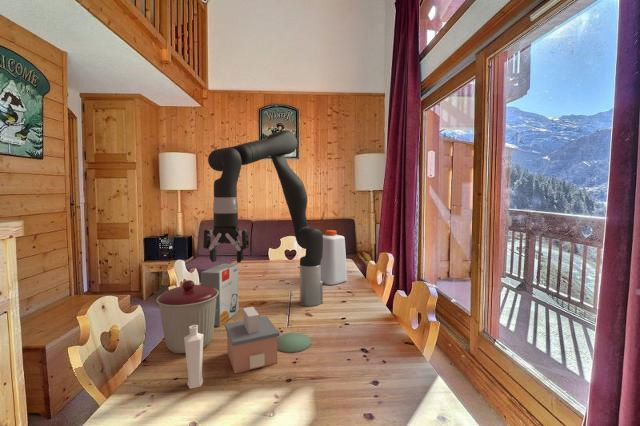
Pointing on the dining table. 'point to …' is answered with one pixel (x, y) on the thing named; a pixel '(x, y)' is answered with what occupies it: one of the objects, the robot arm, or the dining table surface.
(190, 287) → the canister
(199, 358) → the perfume bottle
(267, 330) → the lid
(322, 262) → the plastic bottle
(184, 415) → the dining table surface
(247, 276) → the dining table surface
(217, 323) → the hard drive box
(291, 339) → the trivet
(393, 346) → the dining table surface
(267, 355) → the crate
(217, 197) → the robot arm
